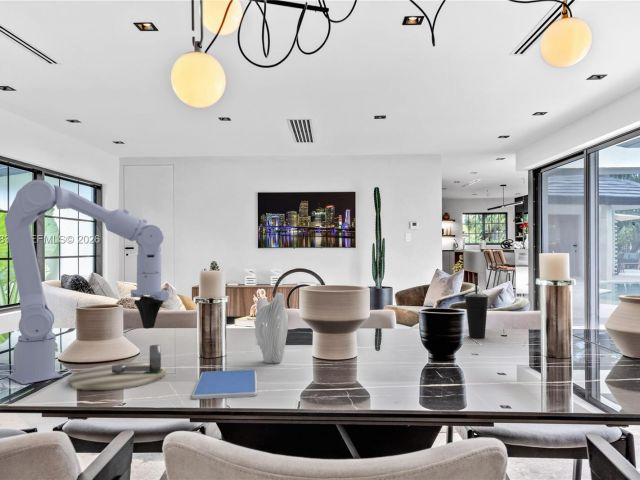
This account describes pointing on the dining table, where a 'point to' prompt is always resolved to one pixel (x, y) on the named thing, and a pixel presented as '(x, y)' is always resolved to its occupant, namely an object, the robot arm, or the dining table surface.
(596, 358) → the dining table surface
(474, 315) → the drinking cup
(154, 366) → the lever
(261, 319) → the white ribbed vase
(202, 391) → the tablet computer
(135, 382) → the dial board
